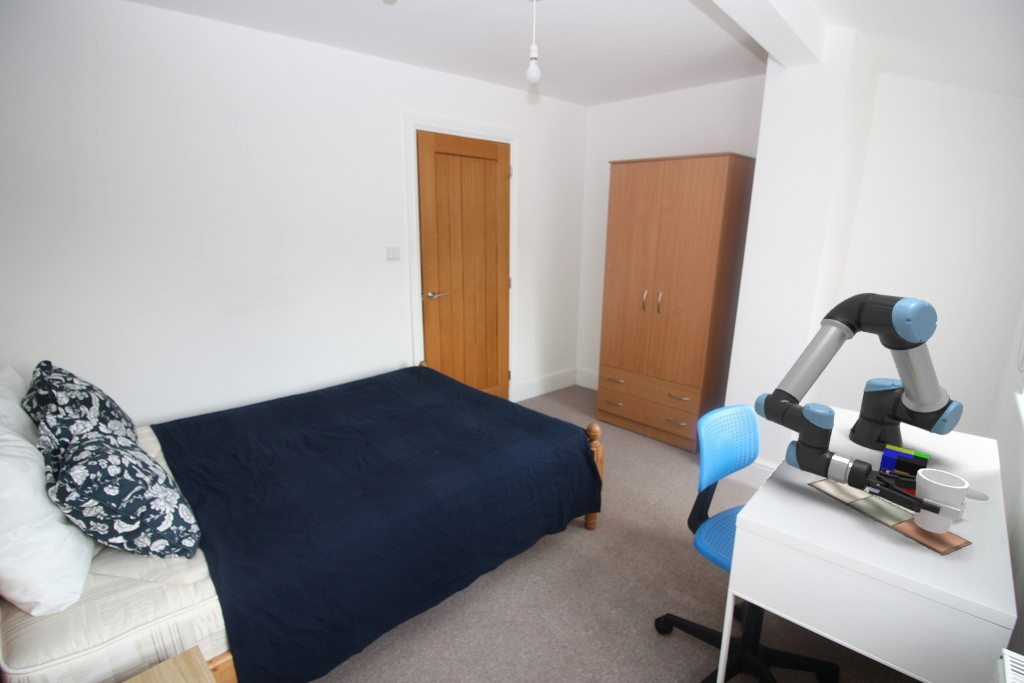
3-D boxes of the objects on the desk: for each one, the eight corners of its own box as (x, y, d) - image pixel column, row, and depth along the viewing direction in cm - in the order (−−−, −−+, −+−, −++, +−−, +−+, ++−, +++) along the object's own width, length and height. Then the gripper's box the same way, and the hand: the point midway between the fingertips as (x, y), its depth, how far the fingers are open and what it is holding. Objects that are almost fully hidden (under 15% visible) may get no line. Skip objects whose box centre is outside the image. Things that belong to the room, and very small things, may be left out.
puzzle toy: (875, 486, 144) (882, 454, 142) (880, 474, 151) (886, 444, 149) (918, 499, 138) (926, 466, 135) (922, 486, 145) (929, 455, 142)
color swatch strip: (834, 476, 149) (834, 476, 149) (972, 543, 118) (972, 542, 118) (807, 484, 144) (807, 483, 144) (943, 555, 114) (943, 554, 114)
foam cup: (904, 510, 127) (915, 465, 124) (950, 522, 123) (963, 475, 119) (910, 529, 119) (922, 481, 116) (960, 542, 115) (973, 492, 112)
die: (939, 508, 133) (944, 490, 132) (961, 518, 129) (966, 499, 127) (928, 512, 131) (933, 493, 130) (950, 522, 127) (955, 503, 125)
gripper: (858, 471, 140) (963, 504, 124) (836, 499, 125) (951, 540, 110) (863, 447, 138) (970, 477, 122) (841, 472, 124) (959, 510, 108)
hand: (961, 507), depth 116 cm, fingers closed on foam cup, 9 cm apart
